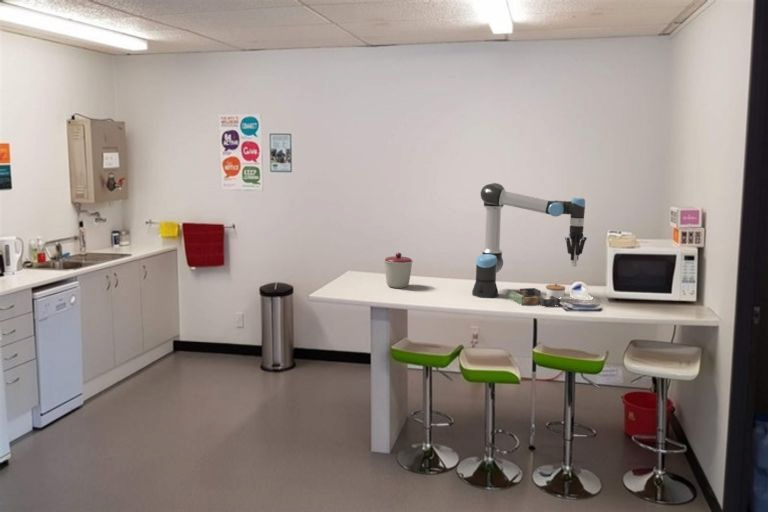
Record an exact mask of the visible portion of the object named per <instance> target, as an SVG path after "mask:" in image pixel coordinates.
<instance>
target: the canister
mask: <svg viewBox="0 0 768 512" xmlns="http://www.w3.org/2000/svg"><path fill="white" fill-rule="evenodd" d="M383 262H384V270H385V271H384V272H385V280H386V284H387V285H386V286H388V287H390V288H392V289H393V288H395V289H404V288H407V287H408V286H409V285H410V279H411V274H412V273H411V272H412V267H413V265H412V264H413V262H414V260H413V259H411V258H410V257H407V256H402V253H400V252H396V253H395V255H393V256H388V257H386V258H384V259H383Z"/></svg>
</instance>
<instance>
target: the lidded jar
mask: <svg viewBox="0 0 768 512" xmlns="http://www.w3.org/2000/svg"><path fill="white" fill-rule="evenodd" d="M565 291H566V287H565V286H564V285H561V284H560V285H559V284H557V283H554V284H548V285H546V286H545V295H546V297H547V299H550V296H554V297H556V298H560V297H563V298H564V296H565Z"/></svg>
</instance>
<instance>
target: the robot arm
mask: <svg viewBox="0 0 768 512" xmlns="http://www.w3.org/2000/svg"><path fill="white" fill-rule="evenodd" d="M480 199H481V200H482V201H483V207H484V208H485V209H486V210H485V237H484V238H485V240H484V243H485V244H484V249H483V250H482V252H481V253H482V254H479V255H478V256H477V257H476V261H475V263H476V265H475V266H476V268H475V283H474V285H473V288H472V291H471V295H472V296H475V297H476V298H477V297H479V298H485V297H488V298H490V297H491V298H496V297H499V291H498V285H497V282H496V281H497V273H498V272H500V271H501V269H503V266H504V260H503V251H502V250H501V249H500V244H501V243H500V241H501V240H500V239H501V217H502V216H501V215H502V214H501V212H502V209H503V208H504V206H509V207H513V208H517V209H522V210H527V211H532V212H536V213H541V214H546V215H550V216H552V217H556V218H558V217H559V216H562V215H570V218H569V219H570V221H569V224H570V225H569V234H568V236H566V237H564V239H565V242H566V243H565V244H566V249H567V254H568V255H570V261H571V264H570V265H571V266H572V267H575V268H576V267H577V266H578V265H577V264H578V260H579V256H580V255H582V254H583V250H584V247H585V243H586V241H587V240H588V238H587V237H585V236H584V233H583V232H584V225H585V223H584V222H585V213H586V211H585V210H586V200H585V198H582V197H572V198H571V200H570V201H567V200H547V199H545V198H543V199H542V198H538V197H535V196H533V197H532V196H530V195H529V196H528V195H524V194H520V193H515V192H509V191H506V189H505V188H504V186H503V185H501V184H500V183H496V182H491V183H489V184H486V185H484V186H483V187H482V188H481V190H480Z"/></svg>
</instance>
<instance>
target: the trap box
mask: <svg viewBox="0 0 768 512" xmlns="http://www.w3.org/2000/svg"><path fill="white" fill-rule="evenodd" d="M541 294H542V293H541V290H540V289H538V288H535V287H530V288H529V287H528V288H519V290H515V291H514V290H512V289H508V290H507V299H508V298H509V300H510V299H511V300H510V301H512V300H513V302H514V301H515V303H516V302H517V304H518V303H519V305H520V304H521V306H526V305H525V304H535V305H539V304H540V305H539V306H541V305H542V306H541V307H543V306H551V307H556V306H555V305H559V306H560V302H561V300H560V299H559V298H556V297H554V296H550V299H549V298H544V297H542V296H541Z"/></svg>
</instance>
